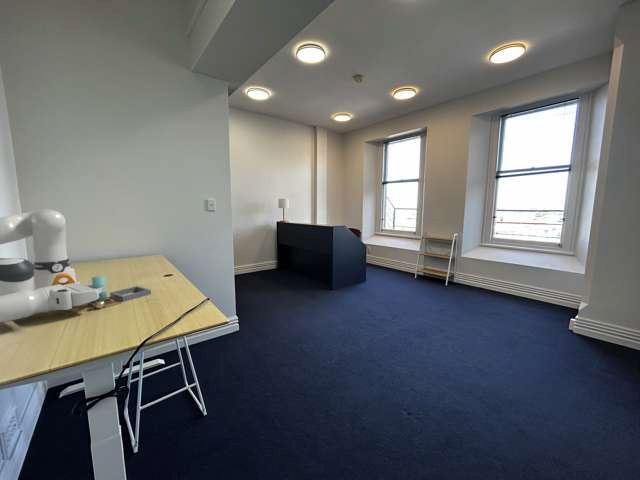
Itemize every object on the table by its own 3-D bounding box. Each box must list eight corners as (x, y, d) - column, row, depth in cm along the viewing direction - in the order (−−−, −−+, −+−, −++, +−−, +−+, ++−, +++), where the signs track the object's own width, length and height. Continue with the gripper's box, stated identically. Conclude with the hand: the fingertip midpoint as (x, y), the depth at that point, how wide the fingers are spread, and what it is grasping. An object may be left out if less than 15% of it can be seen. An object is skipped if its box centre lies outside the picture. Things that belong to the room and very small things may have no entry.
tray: (110, 299, 113) (110, 292, 112) (138, 292, 122) (137, 285, 122) (123, 304, 107) (123, 296, 107) (151, 296, 117) (150, 289, 117)
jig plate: (79, 306, 105) (79, 301, 104) (106, 299, 112) (105, 295, 112) (95, 313, 98) (95, 308, 98) (122, 305, 106) (122, 300, 106)
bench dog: (93, 308, 100) (92, 302, 99) (102, 306, 102) (102, 300, 102) (97, 310, 98) (96, 303, 98) (106, 307, 101) (105, 301, 101)
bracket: (47, 307, 104) (44, 278, 102) (47, 303, 108) (44, 275, 107) (83, 301, 111) (80, 274, 110) (82, 296, 116) (79, 271, 115)
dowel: (92, 304, 104) (89, 277, 103) (104, 301, 108) (102, 275, 106) (97, 305, 102) (94, 279, 101) (109, 302, 106) (106, 276, 105)
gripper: (46, 300, 98) (91, 290, 110) (68, 311, 89) (115, 298, 101) (43, 284, 98) (89, 276, 110) (66, 293, 88) (113, 283, 100)
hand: (102, 287), depth 105 cm, fingers open, 5 cm apart
